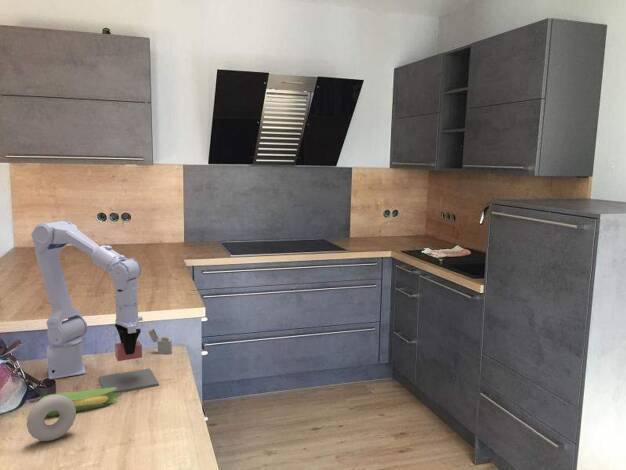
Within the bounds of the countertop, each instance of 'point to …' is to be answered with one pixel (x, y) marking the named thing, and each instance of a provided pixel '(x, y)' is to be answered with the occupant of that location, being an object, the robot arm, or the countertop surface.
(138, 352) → the pink rectangular block
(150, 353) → the countertop surface
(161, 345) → the lighter
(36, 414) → the donut
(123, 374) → the mat
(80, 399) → the edible corn
